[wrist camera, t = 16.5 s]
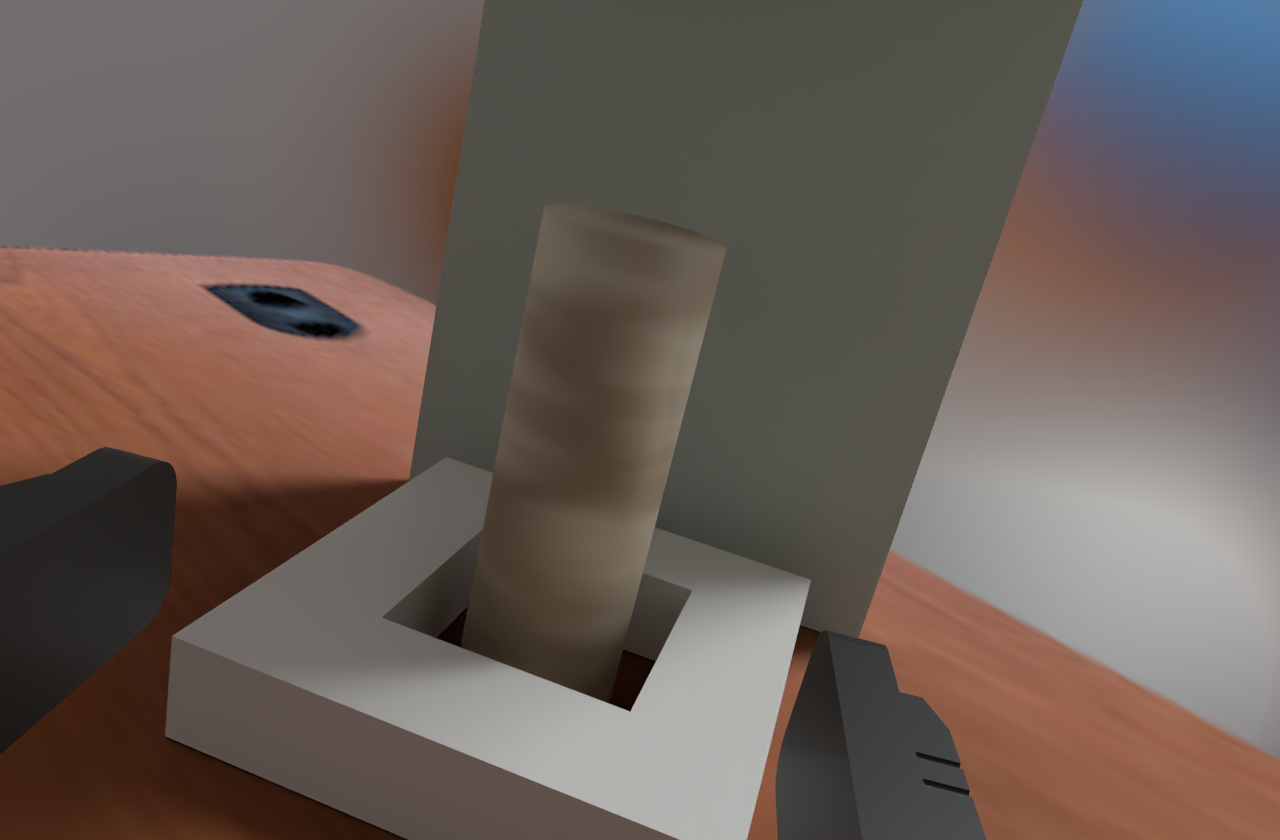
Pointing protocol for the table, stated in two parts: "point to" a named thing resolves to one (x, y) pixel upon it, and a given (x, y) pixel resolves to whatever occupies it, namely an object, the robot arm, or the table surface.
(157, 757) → the table surface
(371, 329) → the table surface
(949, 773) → the robot arm
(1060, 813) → the table surface
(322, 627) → the socket plate
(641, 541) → the birch peg
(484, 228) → the c-shaped stand frame
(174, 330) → the table surface
